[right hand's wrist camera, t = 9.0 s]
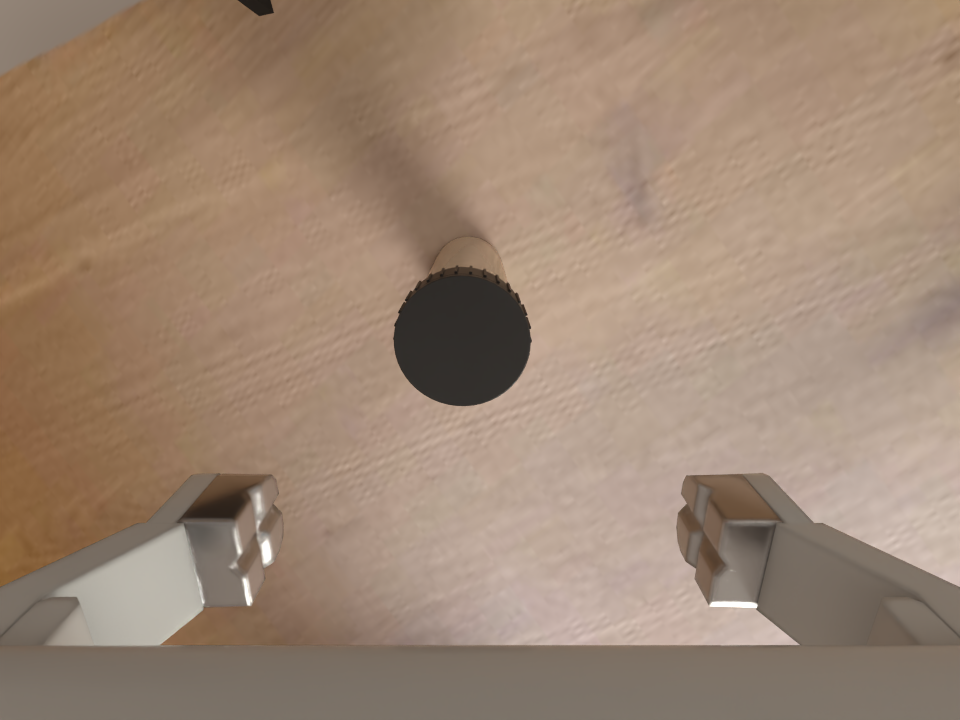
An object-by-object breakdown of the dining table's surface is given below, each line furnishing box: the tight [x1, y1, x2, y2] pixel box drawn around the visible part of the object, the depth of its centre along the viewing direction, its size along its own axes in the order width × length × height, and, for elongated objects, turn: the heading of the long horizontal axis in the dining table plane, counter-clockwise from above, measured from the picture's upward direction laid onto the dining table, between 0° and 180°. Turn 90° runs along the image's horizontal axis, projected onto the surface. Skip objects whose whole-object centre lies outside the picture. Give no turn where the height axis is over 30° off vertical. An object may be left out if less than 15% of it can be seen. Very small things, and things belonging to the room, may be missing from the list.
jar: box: [427, 237, 508, 283], centre depth 27 cm, size 5×4×15 cm
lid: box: [393, 265, 532, 406], centre depth 20 cm, size 5×5×2 cm
